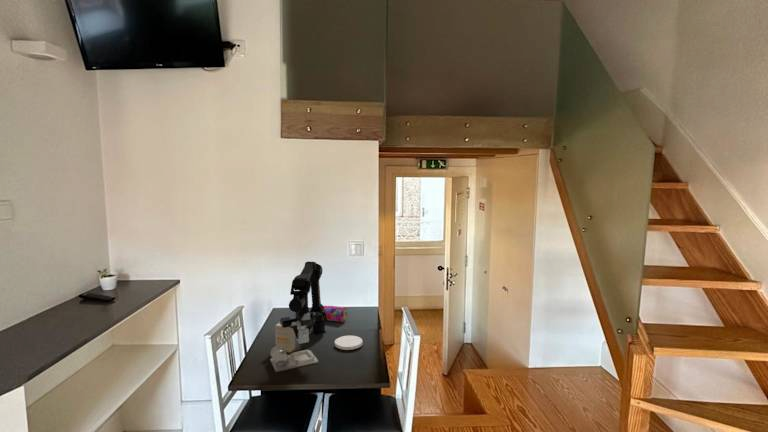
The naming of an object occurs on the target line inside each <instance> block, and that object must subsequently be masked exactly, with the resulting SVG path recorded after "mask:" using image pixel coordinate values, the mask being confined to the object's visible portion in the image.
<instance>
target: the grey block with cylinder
mask: <svg viewBox="0 0 768 432" xmlns="http://www.w3.org/2000/svg"><path fill="white" fill-rule="evenodd" d="M297 332H298V339H297V338H296V337H295V340H296V341H297V342H298V343H297V344H305V343H309V342H310V333H309V329H308V328H307V326H306V325H305V326H301V325H297Z"/></svg>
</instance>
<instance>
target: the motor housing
mask: <svg viewBox="0 0 768 432" xmlns="http://www.w3.org/2000/svg"><path fill="white" fill-rule="evenodd" d="M270 357H271V358H270V360H269V361H270V363H271V365H272V367H273V369H274V371H275V373H278V372H283V371H287V370H293V369H296V368H301V367H305V366H309V365H313V364H318V363H319V360H318V358H317V357H316V356H315V354H314V353H313V352H312V350H311V349H310V350H309V349H304V350H299V351H295V352H291V353H289V354H287V352H285V351H284V349H283V347H282V346H276V345H275V346H273V347H272V348H271V349H270Z"/></svg>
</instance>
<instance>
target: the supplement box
mask: <svg viewBox="0 0 768 432" xmlns="http://www.w3.org/2000/svg"><path fill="white" fill-rule="evenodd" d="M274 329H275V330H274V333H275V346H282V347H283V349H284V351H285V352H286V354H287V353H288V354H291V353H293V351H295V350H296V341H295V340H296V336H295V333H294V331H293V328H290V327H286V328H283V327H282V326H281V324H280V322H278V323H277V324H274Z"/></svg>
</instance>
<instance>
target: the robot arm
mask: <svg viewBox="0 0 768 432" xmlns="http://www.w3.org/2000/svg"><path fill="white" fill-rule="evenodd" d="M322 274H323V267H322V265H321V264H319V263H317V262H315V261H306V262H304V266H303V268H302V270H301V272H300V274H298V275H296V276H295V277H294V278H293V279H292V282H291V288H290V292H289V293H290V294H289V295H290V296H293V298H292V299H291V300H290V301H289V302H288V307H289V310H290V311H291V312H293V313H294V312H295V313H294V317H295V318H290V316H286V317H281V318H280V320H279V323H280V324H281V326H282V327H283V328H286V327H290V328H293V331H294V334H295V339H296V338H297V339H298V332H297V326H298V325H297V323H299V324H300V325H299V326H305V325H306V326H307V328H308V329H309V334H310V333H311V332H312V333H313V334H314V335H319V334H320V335H321V334H325V333H327V331H326V328H325V327H326V326H325V325H326V324H325V323H326V322H327V321H328V320H327V315H326V312H325V311H324V306H325V305H323V304H322V303H321V301H322V300H321V288H320V279H321V277H322ZM309 293H310V294H311V308H309Z"/></svg>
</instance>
